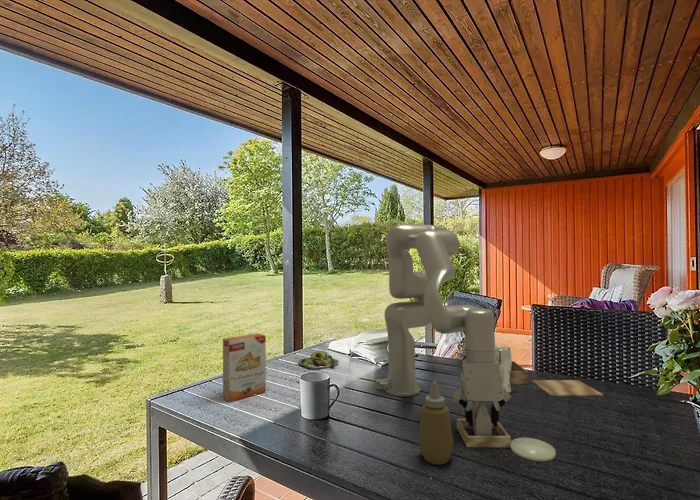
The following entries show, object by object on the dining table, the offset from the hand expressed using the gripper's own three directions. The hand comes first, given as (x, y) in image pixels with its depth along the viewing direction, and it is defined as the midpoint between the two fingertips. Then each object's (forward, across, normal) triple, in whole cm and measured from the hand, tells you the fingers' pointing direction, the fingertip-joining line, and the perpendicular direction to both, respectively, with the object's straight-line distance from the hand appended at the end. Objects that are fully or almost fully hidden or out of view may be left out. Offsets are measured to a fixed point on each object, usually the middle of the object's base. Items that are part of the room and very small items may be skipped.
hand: (482, 423), depth 101 cm
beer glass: (+4, +17, +35) cm, 39 cm away
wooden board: (+4, +40, +37) cm, 55 cm away
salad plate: (+4, -53, +71) cm, 89 cm away
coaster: (+4, +10, -7) cm, 13 cm away
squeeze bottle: (+4, -14, -11) cm, 18 cm away
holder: (+4, 0, 0) cm, 4 cm away
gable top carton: (+4, 0, 0) cm, 4 cm away
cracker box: (+4, -74, +31) cm, 80 cm away
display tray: (+4, +22, +49) cm, 54 cm away
